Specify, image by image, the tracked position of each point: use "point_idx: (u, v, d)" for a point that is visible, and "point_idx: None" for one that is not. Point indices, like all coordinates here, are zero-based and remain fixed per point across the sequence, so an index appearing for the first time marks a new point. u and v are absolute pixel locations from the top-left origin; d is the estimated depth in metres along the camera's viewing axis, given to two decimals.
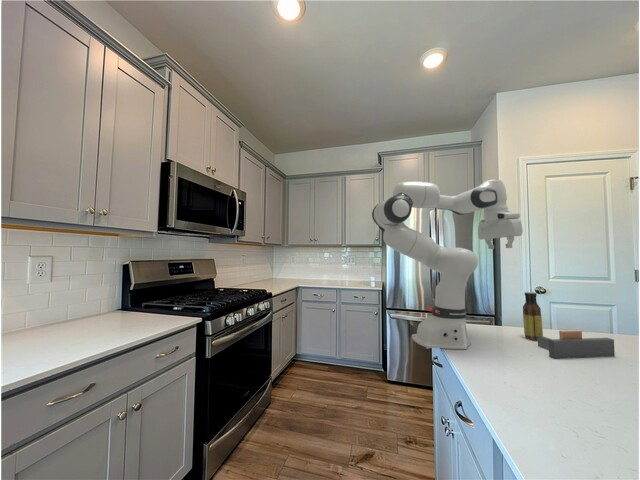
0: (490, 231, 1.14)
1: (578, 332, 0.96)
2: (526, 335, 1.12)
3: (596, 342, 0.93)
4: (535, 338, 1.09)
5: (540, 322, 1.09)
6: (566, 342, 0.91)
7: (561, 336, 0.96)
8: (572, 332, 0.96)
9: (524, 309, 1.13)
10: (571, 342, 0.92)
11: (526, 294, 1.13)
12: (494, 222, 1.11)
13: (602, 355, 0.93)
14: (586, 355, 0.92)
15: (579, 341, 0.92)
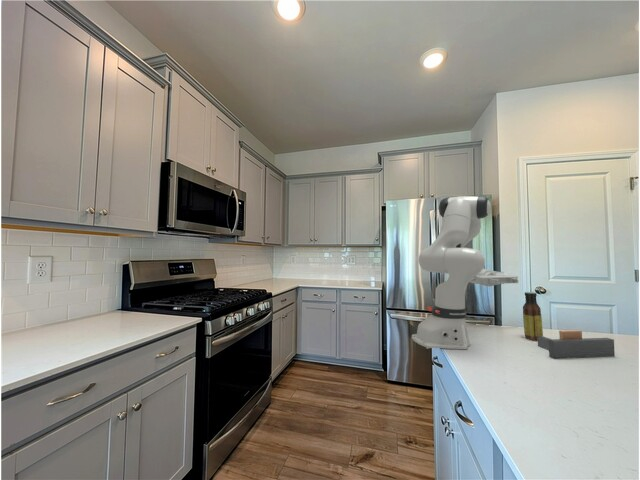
0: (491, 276, 1.33)
1: (578, 332, 0.96)
2: (526, 335, 1.12)
3: (596, 342, 0.93)
4: (535, 338, 1.09)
5: (540, 322, 1.09)
6: (566, 342, 0.91)
7: (561, 336, 0.96)
8: (572, 332, 0.96)
9: (524, 309, 1.13)
10: (571, 342, 0.92)
11: (526, 294, 1.13)
12: None
13: (602, 355, 0.93)
14: (586, 355, 0.92)
15: (579, 341, 0.92)
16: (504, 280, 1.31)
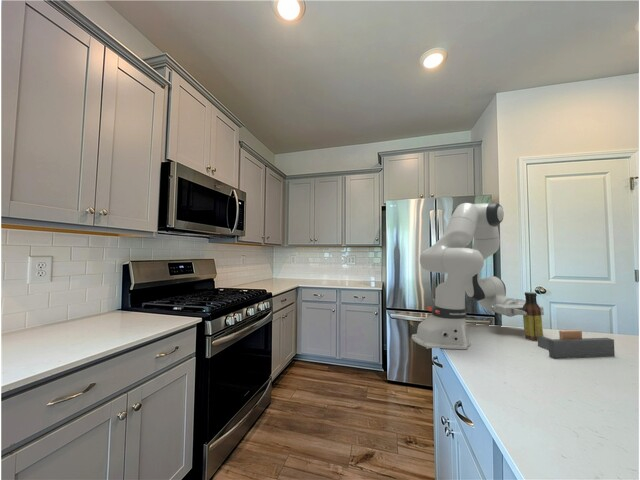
0: (514, 305, 1.19)
1: (578, 332, 0.96)
2: (526, 335, 1.12)
3: (596, 342, 0.93)
4: (535, 338, 1.09)
5: (540, 322, 1.09)
6: (566, 342, 0.91)
7: (561, 336, 0.96)
8: (572, 332, 0.96)
9: (524, 309, 1.13)
10: (571, 342, 0.92)
11: (526, 294, 1.13)
12: None
13: (602, 355, 0.93)
14: (586, 355, 0.92)
15: (579, 341, 0.92)
16: None
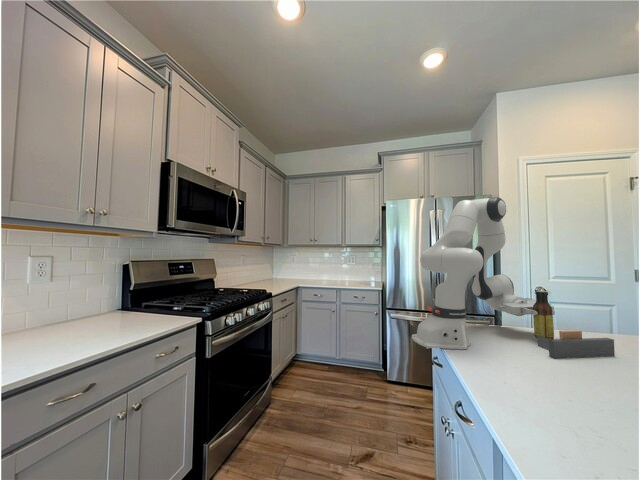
0: (523, 304, 1.14)
1: (578, 332, 0.96)
2: (536, 335, 1.07)
3: (596, 342, 0.93)
4: None
5: (552, 322, 1.04)
6: (566, 342, 0.91)
7: (561, 336, 0.96)
8: (572, 332, 0.96)
9: (535, 308, 1.08)
10: (571, 342, 0.92)
11: (537, 293, 1.08)
12: None
13: (602, 355, 0.93)
14: (586, 355, 0.92)
15: (579, 341, 0.92)
16: None
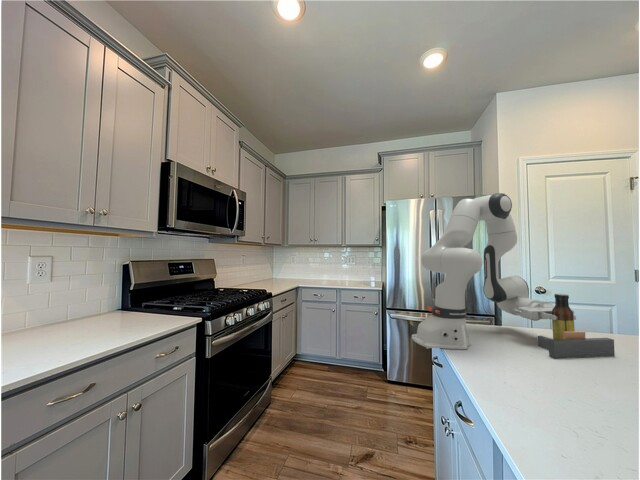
0: (541, 308, 1.06)
1: (581, 333, 0.95)
2: None
3: (596, 342, 0.93)
4: None
5: (573, 328, 0.97)
6: (566, 342, 0.91)
7: (564, 337, 0.95)
8: (575, 333, 0.95)
9: (554, 313, 1.00)
10: (571, 342, 0.92)
11: (557, 296, 1.00)
12: None
13: (602, 355, 0.93)
14: (586, 355, 0.92)
15: (579, 341, 0.92)
16: None
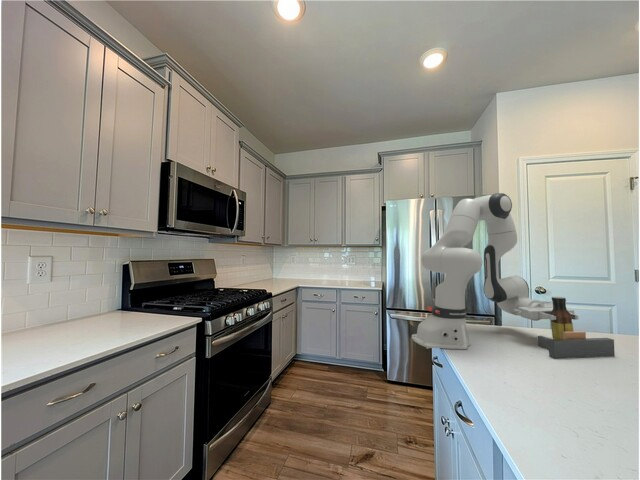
0: (541, 308, 1.06)
1: (582, 333, 0.95)
2: None
3: (596, 342, 0.93)
4: None
5: None
6: (566, 342, 0.91)
7: (565, 337, 0.95)
8: (576, 333, 0.95)
9: None
10: (571, 342, 0.92)
11: (554, 299, 1.00)
12: None
13: (602, 355, 0.93)
14: (586, 355, 0.92)
15: (579, 341, 0.92)
16: None
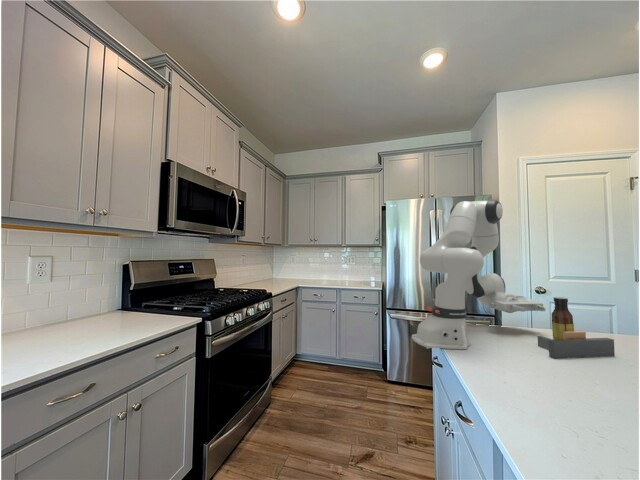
0: (514, 301, 1.19)
1: (582, 333, 0.95)
2: None
3: (596, 342, 0.93)
4: None
5: None
6: (566, 342, 0.91)
7: (565, 337, 0.95)
8: (576, 333, 0.95)
9: (553, 316, 1.00)
10: (571, 342, 0.92)
11: (556, 299, 1.00)
12: None
13: (602, 355, 0.93)
14: (586, 355, 0.92)
15: (579, 341, 0.92)
16: (528, 307, 1.17)
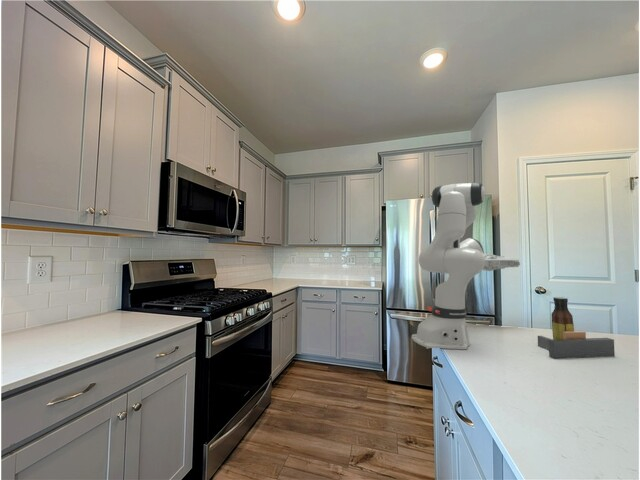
0: None
1: (582, 333, 0.95)
2: None
3: (596, 342, 0.93)
4: None
5: None
6: (566, 342, 0.91)
7: (565, 337, 0.95)
8: (576, 333, 0.95)
9: (553, 316, 1.00)
10: (571, 342, 0.92)
11: (556, 299, 1.00)
12: None
13: (602, 355, 0.93)
14: (586, 355, 0.92)
15: (579, 341, 0.92)
16: (505, 263, 1.28)
